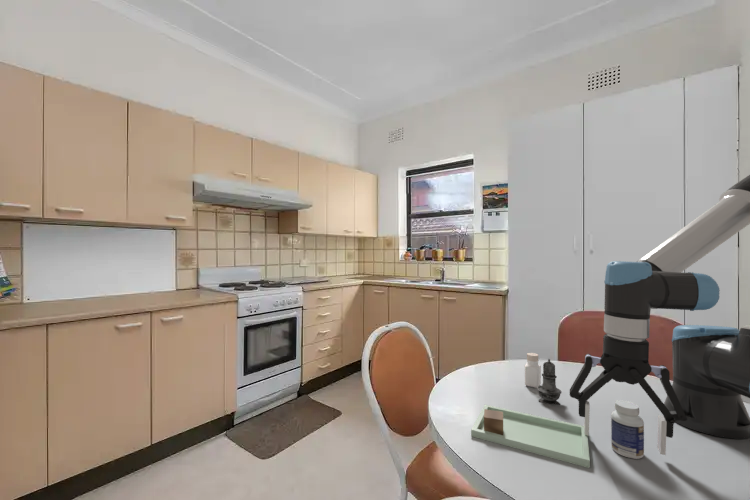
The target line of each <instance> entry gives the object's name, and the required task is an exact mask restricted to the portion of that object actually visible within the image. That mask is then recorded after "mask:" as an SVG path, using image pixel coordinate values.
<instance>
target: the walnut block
mask: <svg viewBox="0 0 750 500" xmlns="http://www.w3.org/2000/svg"><path fill="white" fill-rule="evenodd" d="M484 431H488V432H492V433H495V434H499V435H503V412H500V411H494V410H487V409H484Z"/></svg>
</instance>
